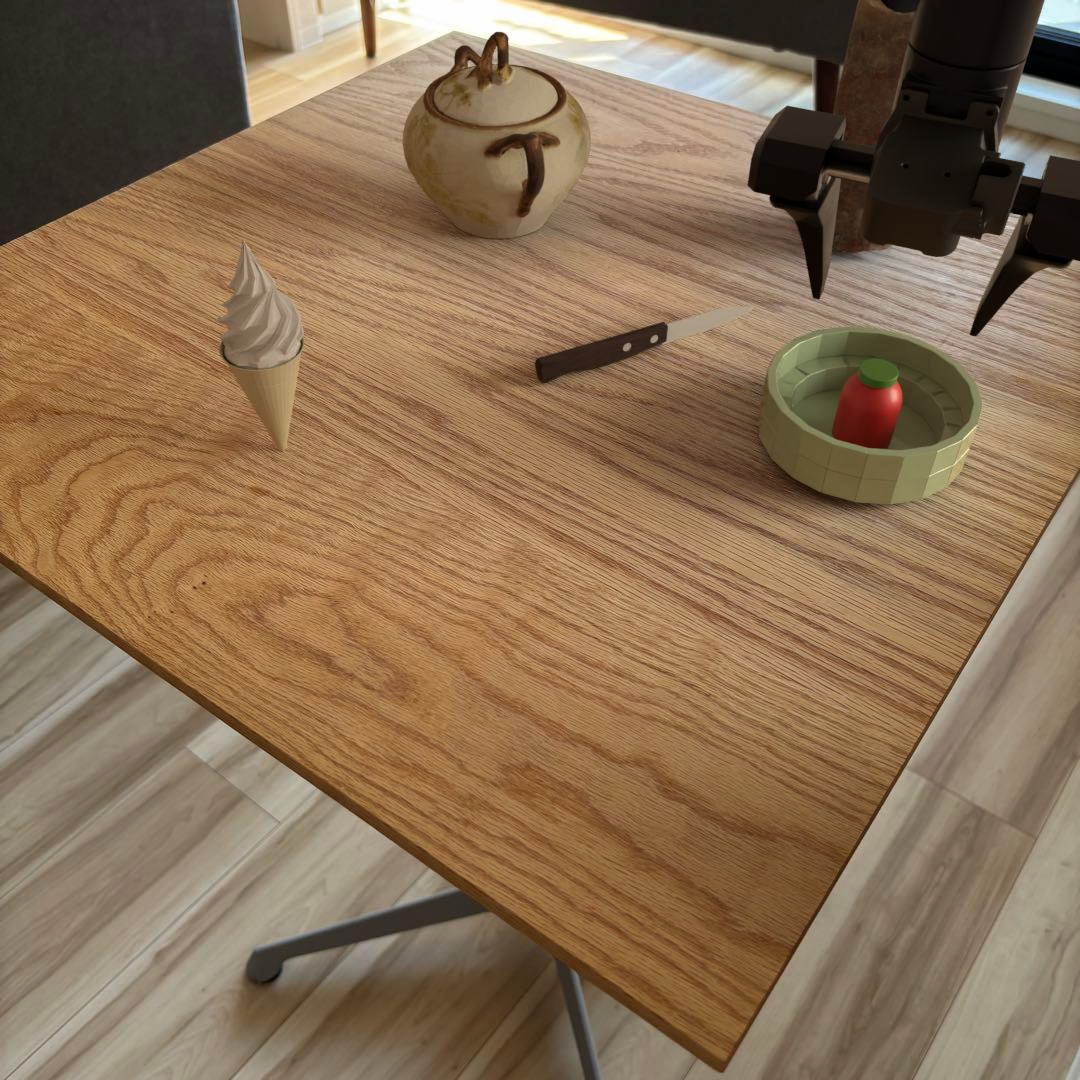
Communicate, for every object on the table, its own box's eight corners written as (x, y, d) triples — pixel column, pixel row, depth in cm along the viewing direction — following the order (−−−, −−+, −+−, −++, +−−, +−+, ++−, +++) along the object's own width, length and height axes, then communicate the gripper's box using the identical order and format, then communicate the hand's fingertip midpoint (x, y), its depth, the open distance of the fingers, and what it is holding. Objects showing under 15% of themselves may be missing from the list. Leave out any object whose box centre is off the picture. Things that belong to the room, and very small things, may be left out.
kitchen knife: (539, 388, 78) (539, 364, 77) (532, 380, 79) (532, 357, 77) (756, 321, 84) (760, 298, 83) (748, 314, 85) (752, 291, 83)
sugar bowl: (626, 259, 90) (639, 70, 79) (444, 292, 86) (433, 98, 76) (543, 150, 103) (545, -25, 93) (382, 174, 100) (366, -4, 89)
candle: (917, 256, 91) (989, -6, 77) (838, 274, 89) (898, 8, 75) (864, 211, 96) (923, -42, 82) (788, 227, 94) (835, -30, 80)
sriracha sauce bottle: (896, 426, 75) (915, 360, 71) (884, 461, 72) (904, 394, 68) (838, 411, 76) (855, 345, 72) (825, 445, 73) (841, 378, 69)
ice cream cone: (336, 436, 74) (305, 230, 64) (293, 483, 71) (253, 274, 60) (272, 415, 76) (231, 210, 65) (226, 460, 72) (176, 252, 62)
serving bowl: (976, 410, 77) (996, 355, 74) (943, 535, 68) (964, 479, 65) (786, 362, 80) (797, 308, 77) (732, 475, 72) (742, 420, 69)
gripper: (738, 75, 53) (701, 348, 64) (1161, 152, 48) (1042, 435, 59) (798, -5, 61) (755, 254, 72) (1171, 56, 55) (1063, 324, 67)
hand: (894, 313), depth 67 cm, fingers open, 9 cm apart
